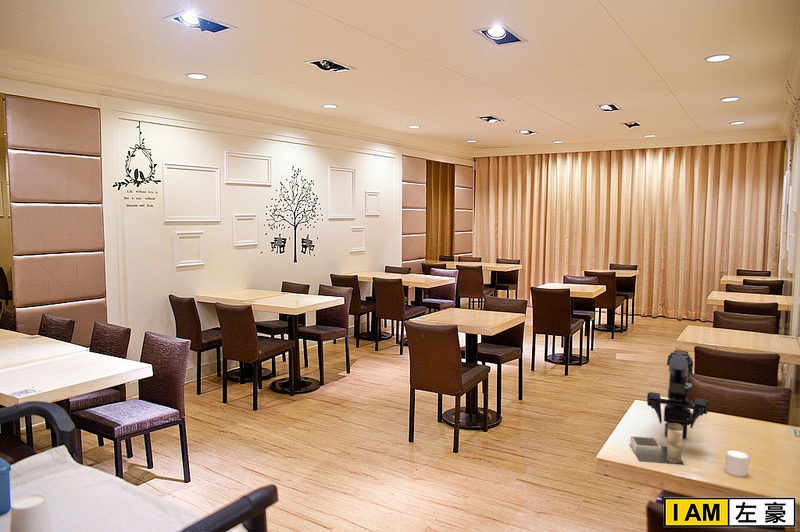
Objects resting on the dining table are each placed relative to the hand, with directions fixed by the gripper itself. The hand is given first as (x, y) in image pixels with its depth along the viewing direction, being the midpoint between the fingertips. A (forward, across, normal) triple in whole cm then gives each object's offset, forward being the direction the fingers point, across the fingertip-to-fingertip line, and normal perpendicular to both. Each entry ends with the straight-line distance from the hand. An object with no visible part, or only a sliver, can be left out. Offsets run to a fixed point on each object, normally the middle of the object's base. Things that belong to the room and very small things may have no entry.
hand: (675, 425), depth 188 cm
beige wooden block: (+10, 0, +4) cm, 11 cm away
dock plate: (+9, -6, +7) cm, 13 cm away
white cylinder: (+12, +18, +5) cm, 22 cm away
